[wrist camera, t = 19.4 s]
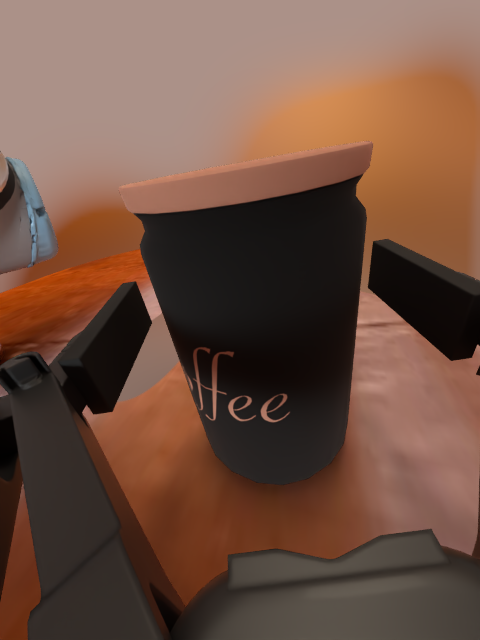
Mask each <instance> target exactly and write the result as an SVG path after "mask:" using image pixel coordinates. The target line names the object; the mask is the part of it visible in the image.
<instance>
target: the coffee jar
mask: <svg viewBox="0 0 480 640" xmlns="http://www.w3.org/2000/svg"><path fill="white" fill-rule="evenodd" d="M372 148H373V143H372V142H370V141H365V142H357V143H350V144H343V145H337V146H331V147H325V148H319V149H314V150H307V151H301V152H295V153H290V154H284V155H278V156H273V157H267V158H261V159H256V160H251V161H245V162H239V163H234V164H228V165H223V166H218V167H212V168H207V169H202V170H196V171H191V172H186V173H181V174H176V175H170V176H165V177H161V178H156V179H150V180H145V181H141V182H136V183H131V184H127V185H123V186H121V187H119V192H120V195H121V197H122V199H123V201H124V203H125V206H126V208H127V209H128V210H129V211H130V212H132V213H134V215H136V216H137V217H138V218H139V219H140V220H141V221H142V223H143V226H144V229H145V233H144V235H143V238H142V241H141V244H140V249H141V255H142V258H143V260H144V263H145V266H146V269H147V271H148V274H149V277H150V280H151V283H152V285H153V288H154V291H155V294H156V296H157V299H158V302H159V305H160V307H161V310H162V313H163V315H164V318H165V321H166V324H167V327H168V330H169V332H170V335H171V338H172V341H173V343H174V346H175V349H176V352H177V354H178V357H179V360H180V363H181V366H182V368H183V371H184V374H185V377H186V379H187V382H188V385H189V388H190V390H191V393H192V396H193V399H194V402H195V404H196V407H197V410H198V413H199V415H200V418H201V421H202V424H203V426H204V429H205V432H206V435H207V437H208V440H209V442H210V444H211V446H212V448H213V451H214V453H215V455H216V456H217V457H218V458H219V459H220V460H221V461H222V462H223V463H224V464H225V465H226V466H227V467H228V468H229V469H230V470H231V471H232V472H235V473H237V474H239V475H241V476H243V477H246V478H248V479H250V480H252V481H255V482H257V483H267V484H278V485H285V484H289V483H292V482H296V481H300V480H304V479H308V478H310V477H311V476H313V475H314V474H315V473H317V472H318V471H320V470H321V469H323V468H324V467H326V466H327V465H329V464H330V463H331V462H332V460H333V459H334V457H335V456H336V454H337V453H338V451H339V450H340V448H341V447H342V445H343V444H344V439H345V433H346V428H347V423H348V412H349V401H350V391H351V380H352V369H353V359H354V348H355V337H356V327H357V316H358V306H359V295H360V284H361V274H362V263H363V252H364V242H365V231H366V220H367V217H366V209H365V207H364V206H363V205H362V204H361V202H360V201H359V200H358V198H357V197H356V185H357V183H358V182H359V180H360V179H361V177H362V176H363V173H364V172H365V171H366V170H367V169H368V168H369V166H370V161H371V155H372Z"/></svg>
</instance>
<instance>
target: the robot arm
mask: <svg viewBox="0 0 480 640" xmlns="http://www.w3.org/2000/svg"><path fill="white" fill-rule="evenodd" d="M57 252H58V243H57V239H56V236H55V233H54V230H53V227H52V224H51V222H50V219H49V217H48V214H47V212H46V211H45V207H44V205H43V202H42V199H41V196H40V194H39V192H38V189H37V187H36V185H35V183H34V180H33V178H32V176H31V174H30V172H29V170H28V168H27V167H26V165H25V164H24V163H23V161H21V160H19V159H12V158H9V157H6V158H5V157H4V156H3V154H2V153H1V151H0V274H3V273H7V272H11V271H15V270H18V269H22V268H26V267H32V266H33V265H34V264H36V263H39V262H42V261H45V260H48V259H51V258H53V257H54V256H55V255H56V254H57ZM368 288H369V289H370V290H371V291H372V292H373V293H375V294H376V295H377V296H378V297H379V298H380V299H381V300H382V301H384V302H385V303H386V304H387V305H388V306H389V307H390V308H392V309H393V310H394V311H395V312H396V313H397V314H398V315H400V316H401V317H402V318H403V319H404V320H405V321H406V322H407V323H409V324H410V325H411V326H412V327H413V328H414V329H415V330H417V331H418V332H419V333H420V334H421V335H422V336H423V337H425V338H426V339H427V340H428V341H429V342H430V343H431V344H432V345H434V346H435V347H436V348H437V349H438V350H439V351H440V352H442V353H443V354H444V355H445V356H446V357H447V358H448V359H450V360H451V361H453V360H460V359H466V358H472V356H473V354H474V351H475V349H476V346H477V344H478V345H479V346H480V281H479V280H475V278H473V277H471V276H468V275H466V274H464V273H460V272H456V271H454V270H452V269H449V268H447V267H445V266H443V265H441V264H439V263H437V262H435V261H433V260H431V259H429V258H426V257H424V256H422V255H420V254H418V253H416V252H414V251H412V250H410V249H408V248H405V247H403V246H401V245H399V244H397V243H395V242H393V241H391V240H389V239H384V240H379V241H373V247H372V256H371V265H370V274H369V283H368ZM151 324H152V321H151V319H150V316H149V314H148V311H147V309H146V306H145V303H144V301H143V298H142V296H141V293H140V291H139V288H138V286H137V283H136V281H135V282H129V283H123V284H122V285H121V286H120V287H119V288H118V289H117V291H116V292H115V293H114V294H113V295H112V297H111V298H110V299H109V300H108V301H107V303H106V304H105V305H104V306H103V307H102V309H101V310H100V311H99V312H98V314H97V315H96V316H95V317H94V318H93V320H92V321H91V322H90V323H89V324H88V326H87V327H86V328H85V329H84V330H83V331H81V332H80V333H79V334H77V335H76V336H75V337H73V338H72V339H71V340H70V342H69V343H68V344H67V346H66V347H64V349H63V350H62V351H61V353H59V354H58V356H57V357H56V358H55V359H54V360H53V361H52V363H51V364H50V365H49V366H48V365H47V364H46V362H45V361H44V359H43V358H42V357H41V355H40V354H39V353H38V352H27V353H23V354H20V355H18V356H15V357H13V358H11V359H9V360H7V361H6V362H4V363H3V364H2V365H0V384H1V385H2V387H3V388H4V389H5V390H6V391H7V392H8V393H9V395H6V396H3V397H0V600H1V595H2V590H3V584H4V579H5V573H6V568H7V563H8V557H9V552H10V546H11V541H12V536H13V530H14V525H15V520H16V514H17V509H18V503H19V498H20V493H21V487H22V482H23V484H24V490H25V496H26V502H27V508H28V514H29V520H30V526H31V533H32V539H33V545H34V551H35V557H36V563H37V569H38V575H39V581H40V588H41V600H40V603H39V604H38V605H37V606H36V607H35V608H34V609H33V610H32V611H31V612H30V616H29V619H28V640H480V478H479V516H478V535H477V540H476V544H475V547H474V550H473V553H472V556H470V555H468V554H466V553H463V552H461V551H458V550H455V549H452V548H448V547H445V546H441V545H440V544H439V542H438V540H437V538H436V537H435V535H434V533H433V531H432V529H427V530H420V531H412V532H404V533H396V534H388V535H380V536H378V537H377V538H375V539H373V540H371V541H369V542H367V543H365V544H363V545H361V546H359V547H357V548H356V549H354V550H352V551H350V552H348V553H346V554H344V555H342V556H340V557H338V558H336V559H324V558H319V557H315V556H310V555H305V554H300V553H295V552H290V551H285V550H280V549H270V550H262V551H254V552H247V553H239V554H231V555H228V570H227V571H225V572H223V573H221V574H220V575H218V576H217V577H215V578H214V579H213V580H211V581H210V582H209V583H207V584H206V585H205V586H204V587H203V588H202V589H201V590H200V591H199V592H198V593H197V594H196V595H195V597H194V598H193V599H192V600H191V601H190V602H189V604H188V605H187V606H186V608H185V606H184V604H183V602H182V601H181V599H180V597H179V595H178V594H177V592H176V590H175V589H174V587H173V586H172V584H171V583H170V581H169V580H168V578H167V576H166V574H165V573H164V571H163V569H162V567H161V565H160V563H159V561H158V559H157V557H156V555H155V553H154V551H153V549H152V547H151V545H150V543H149V541H148V539H147V538H146V536H145V534H144V532H143V530H142V528H141V526H140V524H139V522H138V520H137V518H136V516H135V514H134V512H133V510H132V508H131V506H130V504H129V502H128V500H127V498H126V496H125V494H124V492H123V490H122V488H121V486H120V484H119V482H118V481H117V479H116V477H115V475H114V473H113V471H112V469H111V467H110V465H109V463H108V461H107V459H106V457H105V455H104V453H103V451H102V449H101V447H100V445H99V443H98V441H97V439H96V437H95V435H94V433H93V431H92V429H91V427H90V425H89V423H88V422H87V420H86V418H85V417H84V415H83V414H82V412H83V410H84V408H85V406H86V405H87V406H88V407H89V409H90V410H91V411H92V413H93V414H100V413H107V412H112V411H113V409H114V407H115V405H116V402H117V400H118V398H119V396H120V393H121V391H122V389H123V387H124V384H125V382H126V380H127V378H128V376H129V373H130V371H131V369H132V367H133V364H134V362H135V360H136V358H137V355H138V353H139V351H140V349H141V346H142V344H143V342H144V339H145V337H146V335H147V333H148V331H149V328H150V326H151ZM4 353H5V349H4V347H3V346H2V345H1V344H0V361H1V359H2V358H3V356H4ZM476 375H479V376H480V366H479V369H478V371H477V373H476Z"/></svg>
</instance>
